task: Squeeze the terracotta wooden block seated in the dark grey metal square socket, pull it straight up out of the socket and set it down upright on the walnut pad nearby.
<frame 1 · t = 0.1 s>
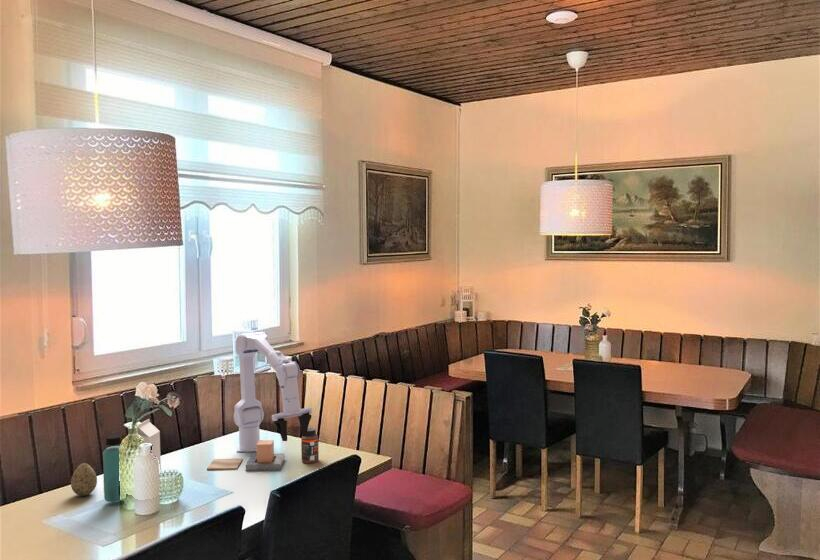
hand: (294, 438, 226), 10 cm above the table, tool pointing down, fingers open, 7 cm apart
milk carton: (145, 479, 218), on the table
square socket: (265, 464, 231), on the table
walnut pad: (225, 465, 232), on the table
decorative egg: (84, 496, 205), on the table
beverage bottle: (116, 503, 198), on the table
supplement bottle: (310, 461, 235), on the table
terracotta block: (265, 465, 231), resting in square socket
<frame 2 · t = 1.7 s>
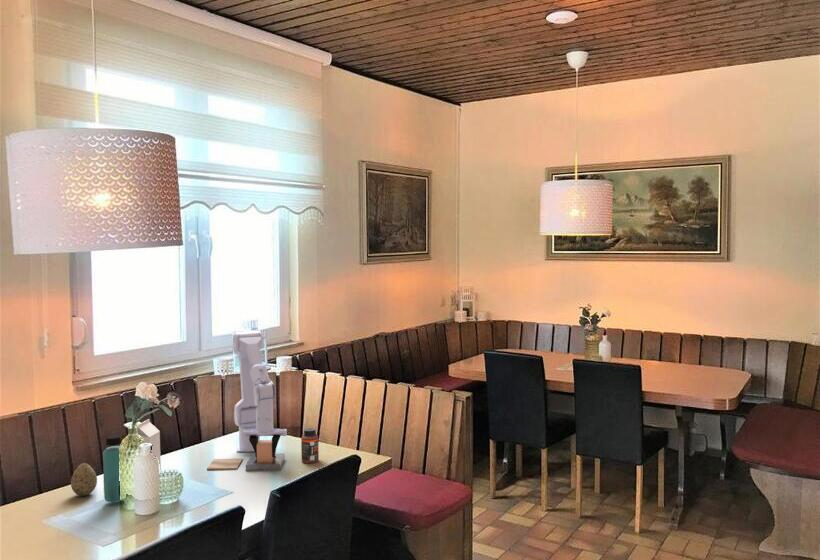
hand: (265, 456, 231), 3 cm above the table, tool pointing down, fingers closed on terracotta block, 5 cm apart
terracotta block: (265, 465, 231), resting in square socket, touching gripper
everything else where it was.
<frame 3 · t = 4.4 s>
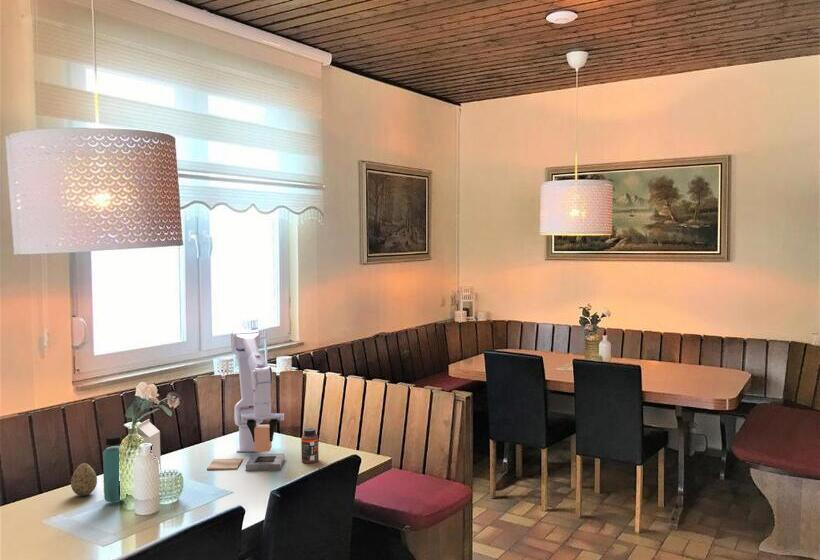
hand: (263, 441, 231), 8 cm above the table, tool pointing down, fingers closed on terracotta block, 5 cm apart
terracotta block: (263, 449, 231), point 5 cm above the table, touching gripper
everything else where it was.
when the fingers open (5 cm above the table, at t = 7.2 s): terracotta block drops 1 cm, resting on walnut pad.
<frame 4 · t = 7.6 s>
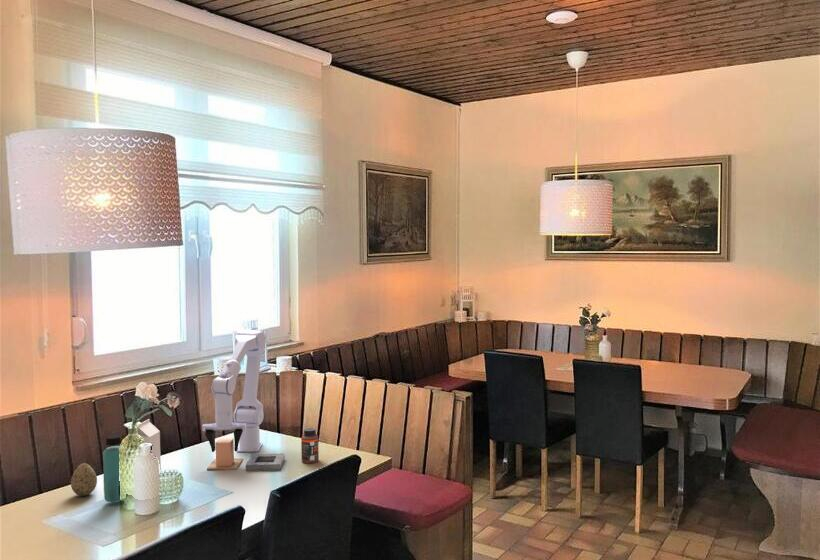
hand: (224, 450, 231), 5 cm above the table, tool pointing down, fingers open, 7 cm apart
terracotta block: (225, 463, 231), point 1 cm above the table, touching walnut pad
everything else where it was.
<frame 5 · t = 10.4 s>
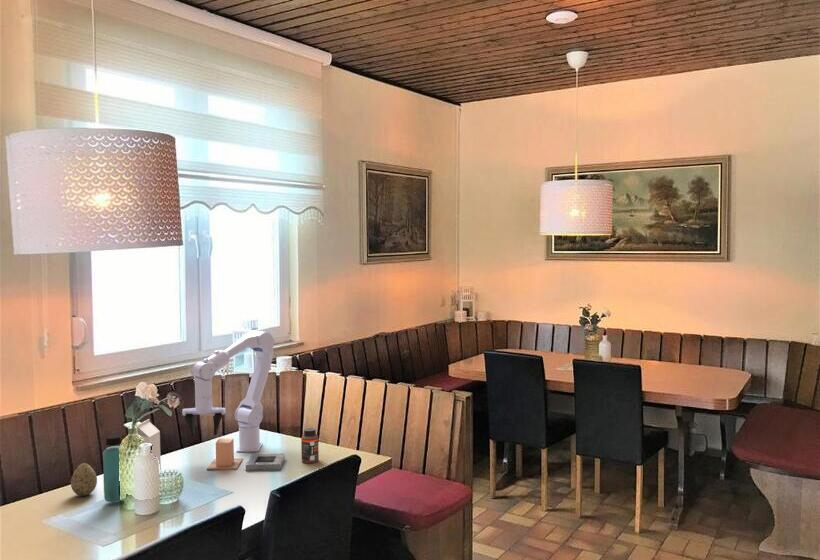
hand: (204, 434, 236), 9 cm above the table, tool pointing down, fingers open, 7 cm apart
nothing on the table moved.
at the end: terracotta block 0.0 cm off-centre on the walnut pad, point 0.6 cm above the walnut pad's base; terracotta block tilted 0°; the gripper is holding nothing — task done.
